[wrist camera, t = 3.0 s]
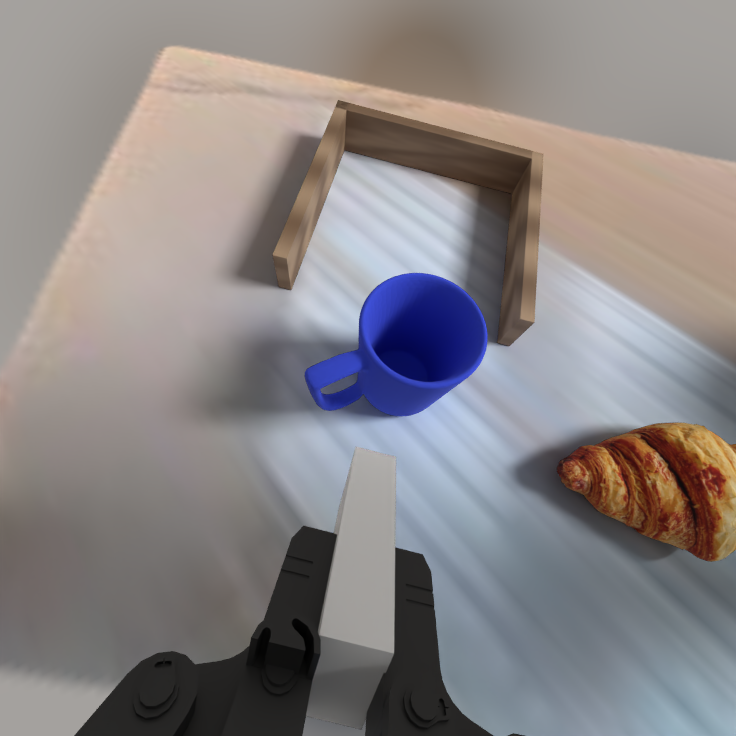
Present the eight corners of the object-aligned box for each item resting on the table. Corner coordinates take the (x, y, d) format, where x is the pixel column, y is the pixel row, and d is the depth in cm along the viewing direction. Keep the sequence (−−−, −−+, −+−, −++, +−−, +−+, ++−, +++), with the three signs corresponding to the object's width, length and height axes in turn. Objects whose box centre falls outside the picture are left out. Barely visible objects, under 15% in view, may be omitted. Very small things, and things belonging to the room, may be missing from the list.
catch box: (509, 346, 35) (534, 322, 31) (278, 286, 35) (272, 254, 30) (522, 189, 43) (543, 153, 39) (337, 140, 43) (338, 100, 39)
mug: (292, 376, 31) (279, 316, 22) (414, 327, 35) (446, 256, 25) (332, 465, 29) (335, 439, 20) (459, 403, 32) (513, 356, 23)
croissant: (726, 470, 36) (798, 414, 31) (824, 580, 28) (940, 530, 23) (521, 450, 34) (561, 387, 29) (566, 563, 26) (632, 504, 21)
